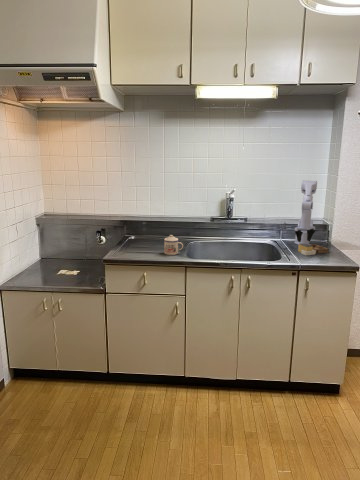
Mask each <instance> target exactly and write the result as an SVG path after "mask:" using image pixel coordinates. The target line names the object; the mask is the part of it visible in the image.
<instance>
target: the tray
mask: <svg viewBox="0 0 360 480" xmlns="http://www.w3.org/2000/svg"><path fill="white" fill-rule="evenodd" d="M311 246H312V247H313V250H316V254H324V253H325V254H326V253H329V251H330V249H329V248H327V247H324V246H323V245H322V246H321V245H318V244H317V243H316V244H315V243H314V244H311Z"/></svg>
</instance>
